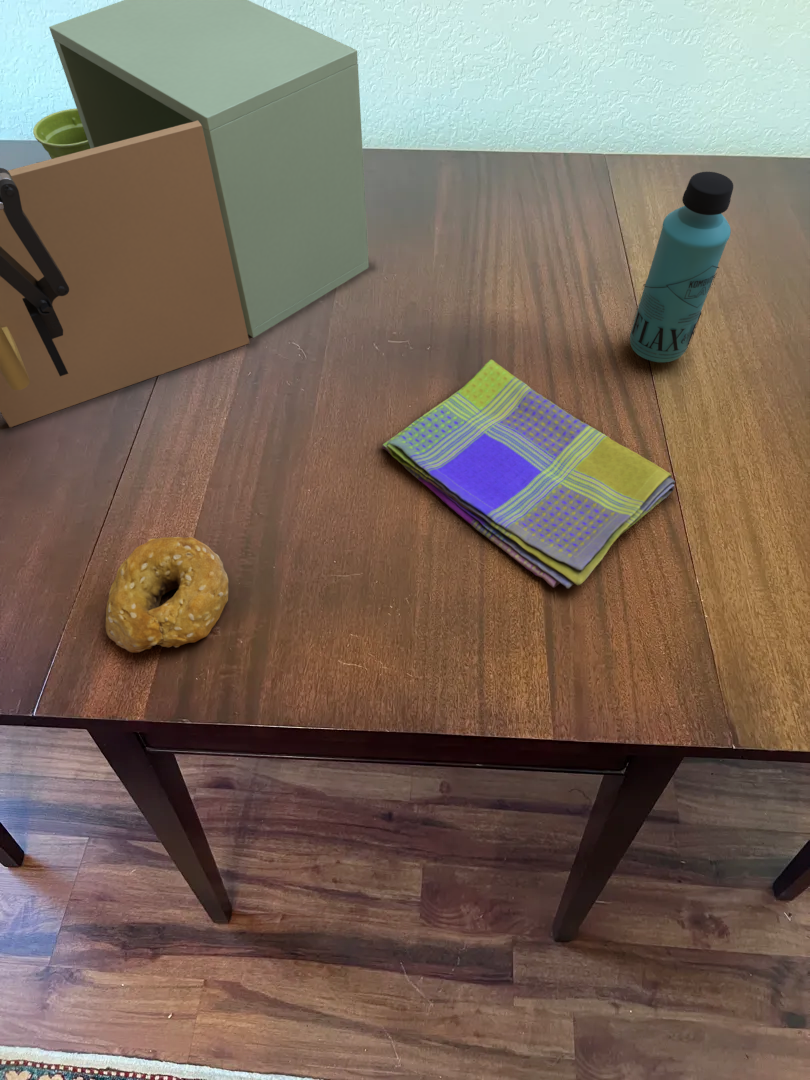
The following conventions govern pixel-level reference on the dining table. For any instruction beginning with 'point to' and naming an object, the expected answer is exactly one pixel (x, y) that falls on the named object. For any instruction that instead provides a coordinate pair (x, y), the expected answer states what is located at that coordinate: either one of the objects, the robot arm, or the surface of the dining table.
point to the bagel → (151, 576)
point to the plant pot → (61, 133)
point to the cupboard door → (119, 271)
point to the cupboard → (239, 130)
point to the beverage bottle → (682, 269)
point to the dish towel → (530, 475)
